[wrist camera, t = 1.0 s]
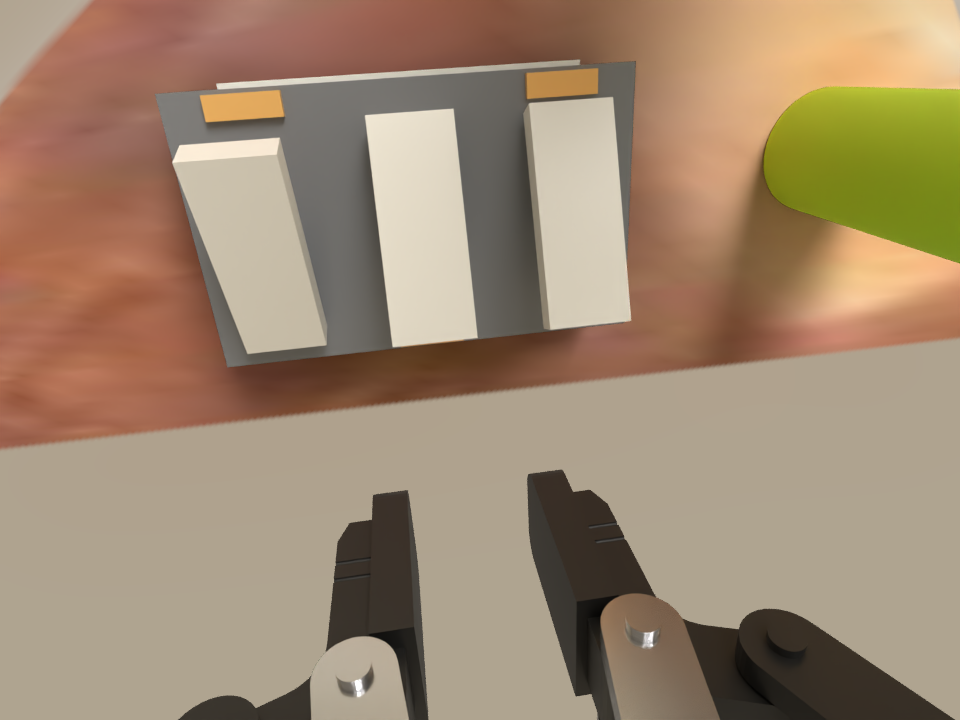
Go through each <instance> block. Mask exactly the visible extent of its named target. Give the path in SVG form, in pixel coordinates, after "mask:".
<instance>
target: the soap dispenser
mask: <svg viewBox="0 0 960 720" xmlns="http://www.w3.org/2000/svg"><path fill="white" fill-rule="evenodd" d="M763 165H764V176H765V180H766V183H767V186H768V188H769V190H770V191H771V193H772V194H773V196H774V197H775V198H776V199H777V200H778V201H779V202H780V203H782V204H783V205H785V206H787V207H789V208H792V209H795V210H798V211H801V212H804V213H807V214H810V215H813V216H816V217H819V218H822V219H825V220H828V221H832V222H835V223H838V224H841V225H844V226H847V227H850V228H853V229H856V230H859V231H862V232H865V233H868V234H871V235H874V236H877V237H880V238H884V239H887V240H890V241H893V242H896V243H899V244H902V245H905V246H908V247H911V248H914V249H917V250H920V251H923V252H926V253H929V254H932V255H935V256H939V257H942V258H945V259H948V260H951V261H954V262H957V263H960V90H958V89H916V88H875V87H825V88H821V89H817V90H814V91H812V92H810V93H808V94H806V95H804V96H803V97H801V98H799V99H798V100H797V101H795V102H794V103H793V104H792V105H791V106H790V107H789V108H788V109H787V110H786V111H785V112H784V113H783V114H782V116H781V117H780V118H779V120H778V121H777V123H776V124H775V126H774V128H773V130H772V131H771V134H770V136H769V138H768V141H767V144H766V148H765V153H764V164H763Z"/></svg>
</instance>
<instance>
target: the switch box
mask: <svg viewBox="0 0 960 720" xmlns="http://www.w3.org/2000/svg"><path fill="white" fill-rule="evenodd" d="M635 67H636V61H632V62H615V63H599V64H584V65H580V59H579V60H564V61H549V62H534V63H519V64H504V65H489V66H474V67H460V68H445V69H430V70H415V71H400V72H385V73H370V74H355V75H340V76H325V77H310V78H295V79H280V80H265V81H251V82H236V83H221V84H216V85H217V89H216V90H201V91H186V92H174V93H161V94H155V96H156V100H157V104H158V107H159V111H160V115H161V119H162V122H163V126H164V130H165V134H166V137H167V141H168V145H169V149H170V152H171V156H172V160H174V157H175V155H176V152H177V150H178V148H179V145H190V144H203V143H216V142H229V141H242V140H255V139H268V138H280V141H281V145H282V149H283V153H284V157H285V160H286V164H287V168H288V172H289V176H290V180H291V184H292V188H293V192H294V196H295V200H296V204H297V208H298V212H299V216H300V220H301V224H302V228H303V232H304V236H305V240H306V244H307V248H308V252H309V256H310V260H311V264H312V268H313V272H314V275H315V279H316V283H317V287H318V291H319V295H320V299H321V303H322V307H323V311H324V315H325V319H326V323H327V345H324V346H315V347H306V348H297V349H288V350H279V351H270V352H261V353H252V354H247V351H246V349H245V346H244V344H243V341H242V339H241V336H240V334H239V331H238V329H237V326H236V323H235V321H234V318H233V316H232V313H231V311H230V308H229V306H228V303H227V301H226V298H225V296H224V293H223V290H222V288H221V285H220V283H219V280H218V278H217V275H216V273H215V270H214V268H213V265H212V263H211V260H210V258H209V255H208V252H207V250H206V247H205V245H204V242H203V240H202V237H201V235H200V232H199V230H198V227H197V225H196V222H195V219H194V217H193V214H192V212H191V209H190V207H189V204H188V202H187V199H186V197H185V194H184V192H183V189H182V186H181V184H180V181H179V179H178V176H177V179H178V183H179V186H180V190H181V194H182V198H183V201H184V205H185V209H186V213H187V216H188V220H189V224H190V228H191V231H192V235H193V239H194V243H195V247H196V250H197V254H198V258H199V262H200V265H201V269H202V273H203V277H204V280H205V284H206V288H207V292H208V295H209V299H210V303H211V307H212V310H213V314H214V318H215V322H216V325H217V329H218V333H219V337H220V341H221V344H222V348H223V352H224V356H225V359H226V363H227V367H235V366H244V365H253V364H262V363H271V362H280V361H289V360H298V359H307V358H316V357H325V356H334V355H342V354H351V353H360V352H369V351H378V350H387V349H396V348H405V347H414V346H423V345H432V344H441V343H450V342H459V341H467V340H476V339H485V338H494V337H503V336H512V335H521V334H530V333H539V332H548V331H557V330H566V329H575V328H584V327H593V326H601V325H610V324H619V323H624V322H616V323H607V324H598V325H589V326H580V327H572V328H563V329H554V330H548V329H544V327H543V316H542V306H541V295H540V285H539V274H538V264H537V253H536V243H535V232H534V222H533V211H532V201H531V190H530V180H529V169H528V159H527V148H526V138H525V127H524V117H523V113H524V111H525V109H526V108H527V106H528V104H529V103H538V102H551V101H565V100H579V99H592V98H606V97H613V103H614V115H615V128H616V140H617V152H618V165H619V177H620V189H621V202H622V214H623V226H624V239H625V251H626V263H627V250H628V228H629V205H630V182H631V159H632V136H633V113H634V90H635ZM441 109H454V118H455V128H456V137H457V147H458V156H459V166H460V175H461V185H462V194H463V204H464V213H465V222H466V232H467V241H468V251H469V260H470V270H471V279H472V289H473V298H474V308H475V317H476V327H477V336H478V338H472V339H463V340H454V341H445V342H437V343H428V344H419V345H410V346H401V347H393V346H392V338H391V330H390V321H389V313H388V305H387V296H386V288H385V279H384V271H383V263H382V254H381V246H380V237H379V229H378V221H377V212H376V204H375V196H374V187H373V179H372V170H371V162H370V154H369V145H368V137H367V129H366V120H365V115H374V114H387V113H401V112H414V111H428V110H441ZM176 175H177V174H176Z"/></svg>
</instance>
